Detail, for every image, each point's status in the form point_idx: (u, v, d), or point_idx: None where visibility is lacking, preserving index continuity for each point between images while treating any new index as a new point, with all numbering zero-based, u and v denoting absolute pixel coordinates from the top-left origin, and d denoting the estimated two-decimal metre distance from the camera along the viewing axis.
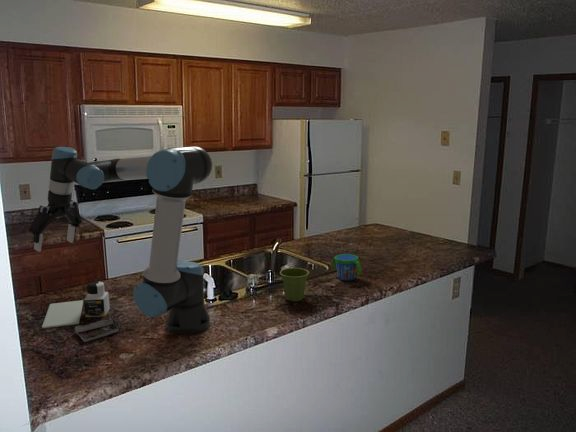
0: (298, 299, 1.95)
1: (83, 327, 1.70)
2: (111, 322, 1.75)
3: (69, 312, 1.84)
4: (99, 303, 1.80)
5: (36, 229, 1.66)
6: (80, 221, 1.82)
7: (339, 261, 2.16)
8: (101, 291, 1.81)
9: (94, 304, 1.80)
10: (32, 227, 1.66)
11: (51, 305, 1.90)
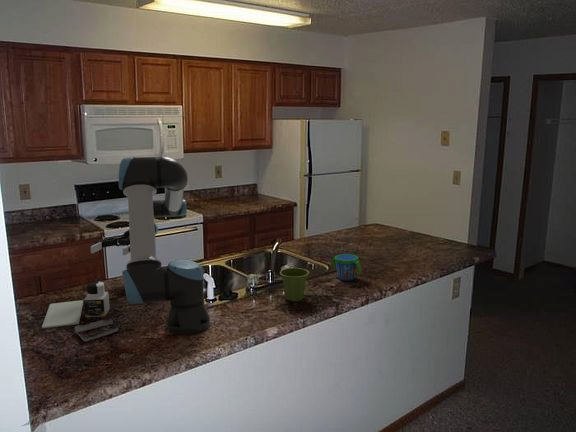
0: (298, 299, 1.95)
1: (83, 327, 1.70)
2: (111, 322, 1.75)
3: (69, 312, 1.84)
4: (99, 303, 1.80)
5: (99, 240, 1.99)
6: None
7: (339, 261, 2.16)
8: (101, 291, 1.81)
9: (94, 304, 1.80)
10: None
11: (51, 305, 1.90)
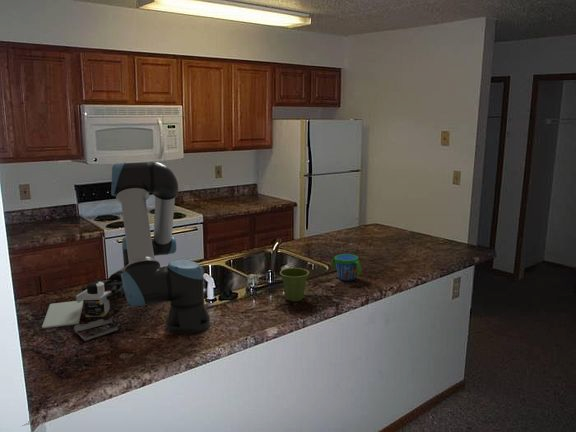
0: (298, 299, 1.95)
1: (82, 326, 1.70)
2: (110, 321, 1.76)
3: (69, 312, 1.84)
4: (99, 303, 1.80)
5: (85, 287, 1.89)
6: (119, 290, 1.85)
7: (339, 261, 2.16)
8: (101, 291, 1.81)
9: (94, 304, 1.80)
10: None
11: (51, 305, 1.90)
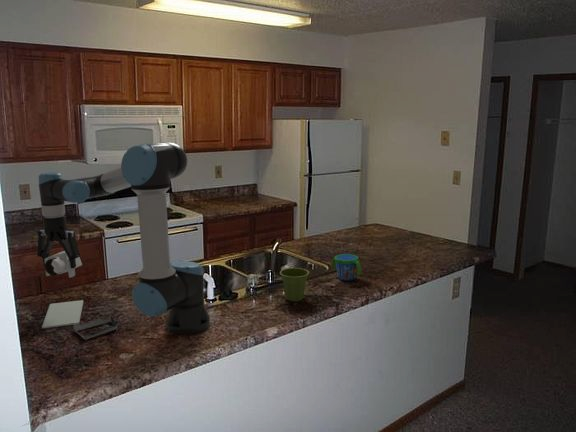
0: (298, 299, 1.95)
1: (82, 326, 1.71)
2: (109, 320, 1.77)
3: (69, 312, 1.84)
4: None
5: (38, 251, 1.79)
6: (74, 256, 1.77)
7: (339, 261, 2.16)
8: (62, 269, 1.78)
9: None
10: None
11: (51, 305, 1.90)
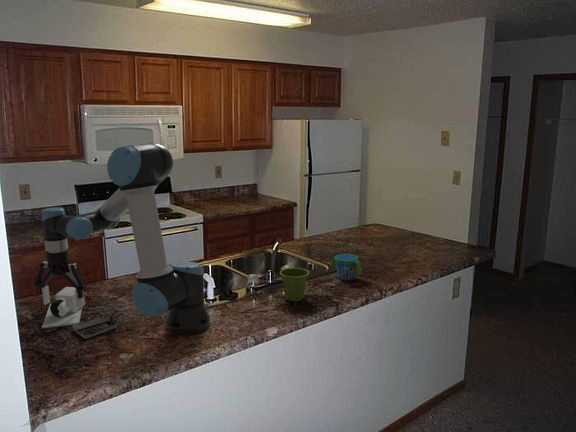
0: (298, 299, 1.95)
1: (81, 325, 1.71)
2: (108, 319, 1.77)
3: None
4: None
5: (36, 281, 1.82)
6: (81, 286, 1.78)
7: (339, 261, 2.16)
8: (67, 312, 1.80)
9: None
10: None
11: None
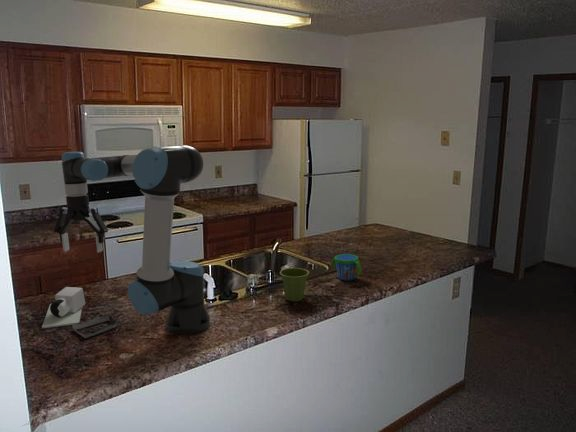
0: (298, 299, 1.95)
1: (80, 325, 1.72)
2: (107, 318, 1.78)
3: None
4: None
5: (56, 227, 1.81)
6: (102, 230, 1.78)
7: (339, 261, 2.16)
8: (67, 312, 1.80)
9: None
10: None
11: None
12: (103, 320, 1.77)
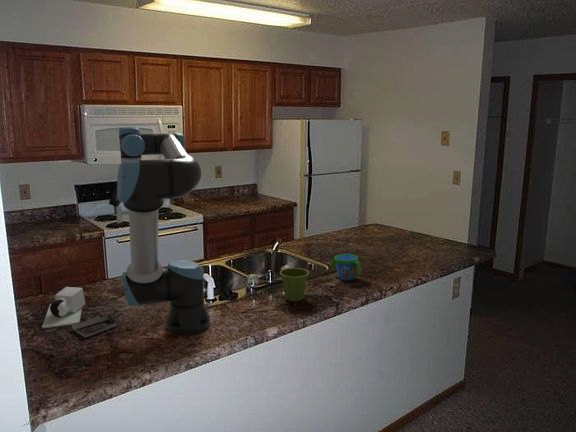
0: (298, 299, 1.95)
1: (80, 324, 1.72)
2: (106, 318, 1.78)
3: None
4: None
5: (111, 200, 1.89)
6: None
7: (339, 261, 2.16)
8: (67, 312, 1.80)
9: None
10: None
11: None
12: (102, 320, 1.77)
